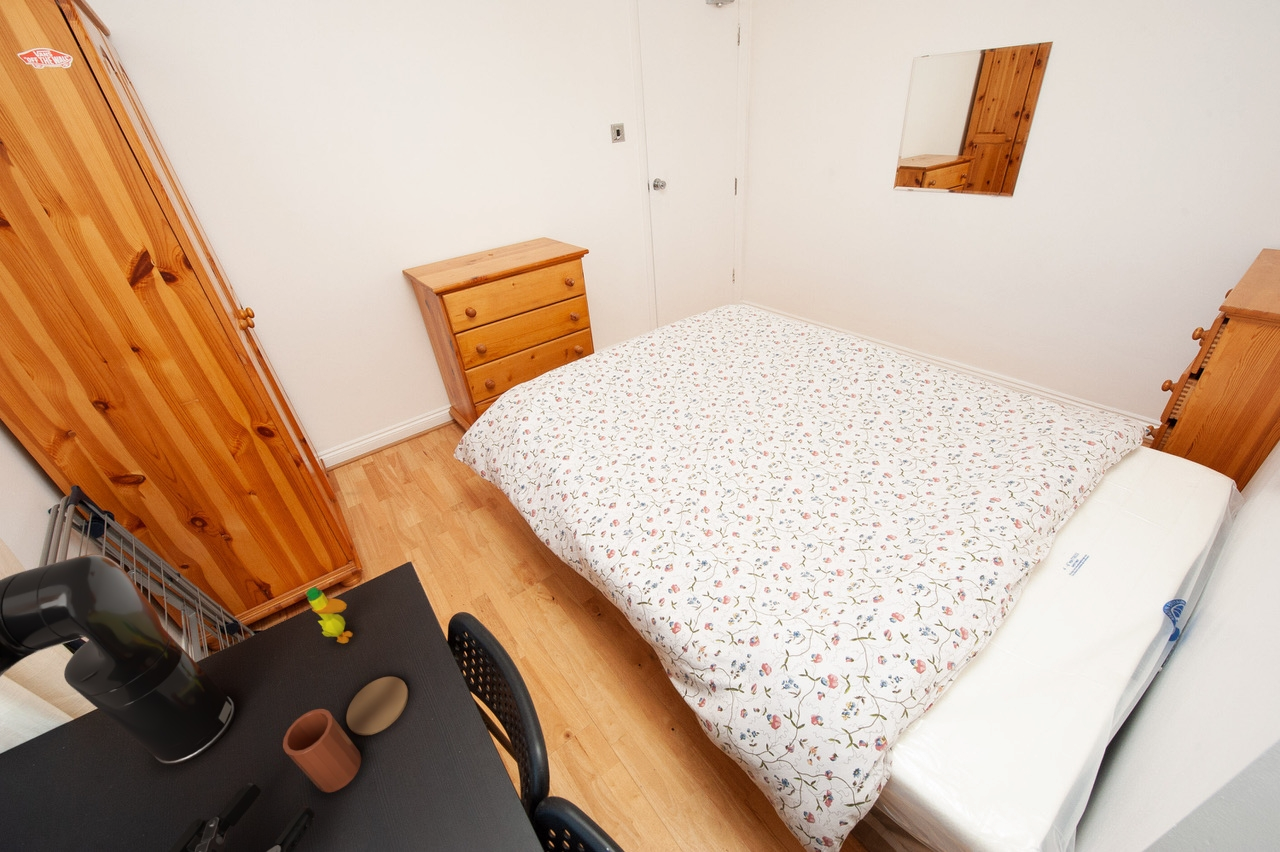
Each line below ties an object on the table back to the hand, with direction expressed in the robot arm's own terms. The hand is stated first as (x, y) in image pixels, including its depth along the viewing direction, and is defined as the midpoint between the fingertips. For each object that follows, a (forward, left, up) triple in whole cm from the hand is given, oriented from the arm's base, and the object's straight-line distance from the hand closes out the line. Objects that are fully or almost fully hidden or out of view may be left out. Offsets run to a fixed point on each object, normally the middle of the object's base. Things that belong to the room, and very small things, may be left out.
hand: (282, 797), depth 59 cm
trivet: (-1, +14, -6) cm, 15 cm away
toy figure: (-15, +22, -6) cm, 28 cm away
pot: (0, +6, -6) cm, 8 cm away
